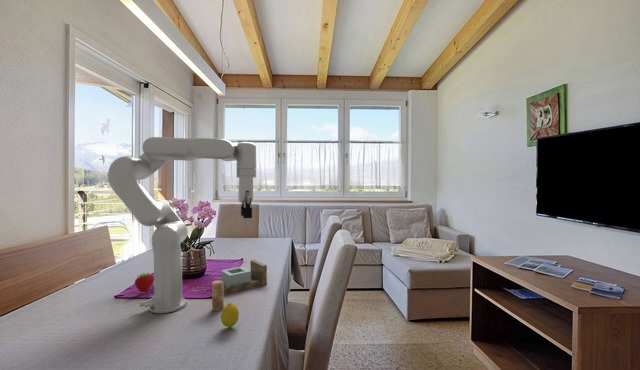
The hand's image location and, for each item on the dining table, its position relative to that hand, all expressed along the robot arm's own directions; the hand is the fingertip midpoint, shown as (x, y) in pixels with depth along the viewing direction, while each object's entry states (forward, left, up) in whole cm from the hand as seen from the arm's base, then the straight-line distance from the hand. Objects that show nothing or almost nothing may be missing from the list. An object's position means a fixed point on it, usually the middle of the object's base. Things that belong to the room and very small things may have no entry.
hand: (246, 216), depth 117 cm
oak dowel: (-11, 0, -34) cm, 36 cm away
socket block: (+3, +19, -32) cm, 38 cm away
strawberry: (-30, +36, -34) cm, 58 cm away
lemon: (-13, -17, -34) cm, 40 cm away
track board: (+6, +19, -34) cm, 39 cm away
